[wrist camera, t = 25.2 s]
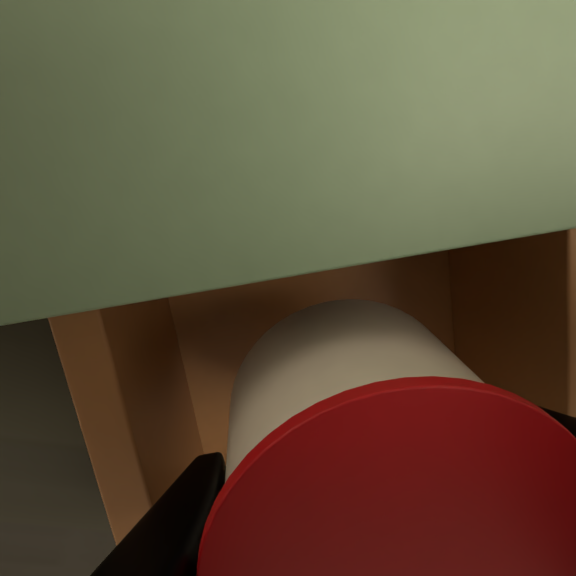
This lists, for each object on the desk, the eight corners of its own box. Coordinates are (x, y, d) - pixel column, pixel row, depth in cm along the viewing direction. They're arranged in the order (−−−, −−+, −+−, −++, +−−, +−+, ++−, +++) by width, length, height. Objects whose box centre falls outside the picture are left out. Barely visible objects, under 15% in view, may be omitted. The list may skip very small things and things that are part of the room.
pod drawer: (500, 592, 17) (637, 825, 11) (211, 649, 17) (191, 922, 11) (474, 54, 13) (684, -46, 7) (75, 115, 12) (-96, 71, 6)
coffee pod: (308, 552, 10) (345, 792, 6) (163, 381, 9) (101, 553, 5) (507, 428, 10) (677, 605, 6) (386, 232, 9) (500, 294, 5)
